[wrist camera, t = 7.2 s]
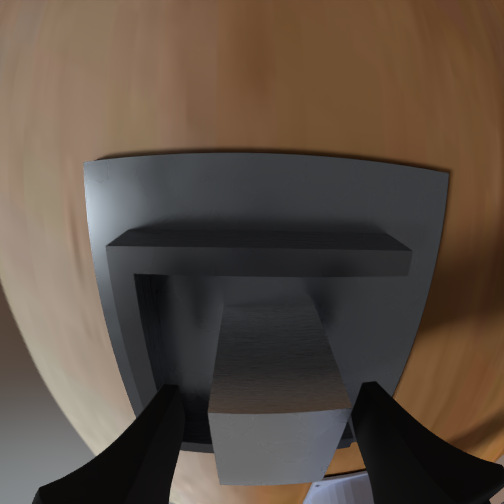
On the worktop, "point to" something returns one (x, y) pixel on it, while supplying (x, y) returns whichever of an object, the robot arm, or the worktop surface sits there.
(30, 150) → the worktop surface
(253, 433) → the block
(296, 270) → the cradle
